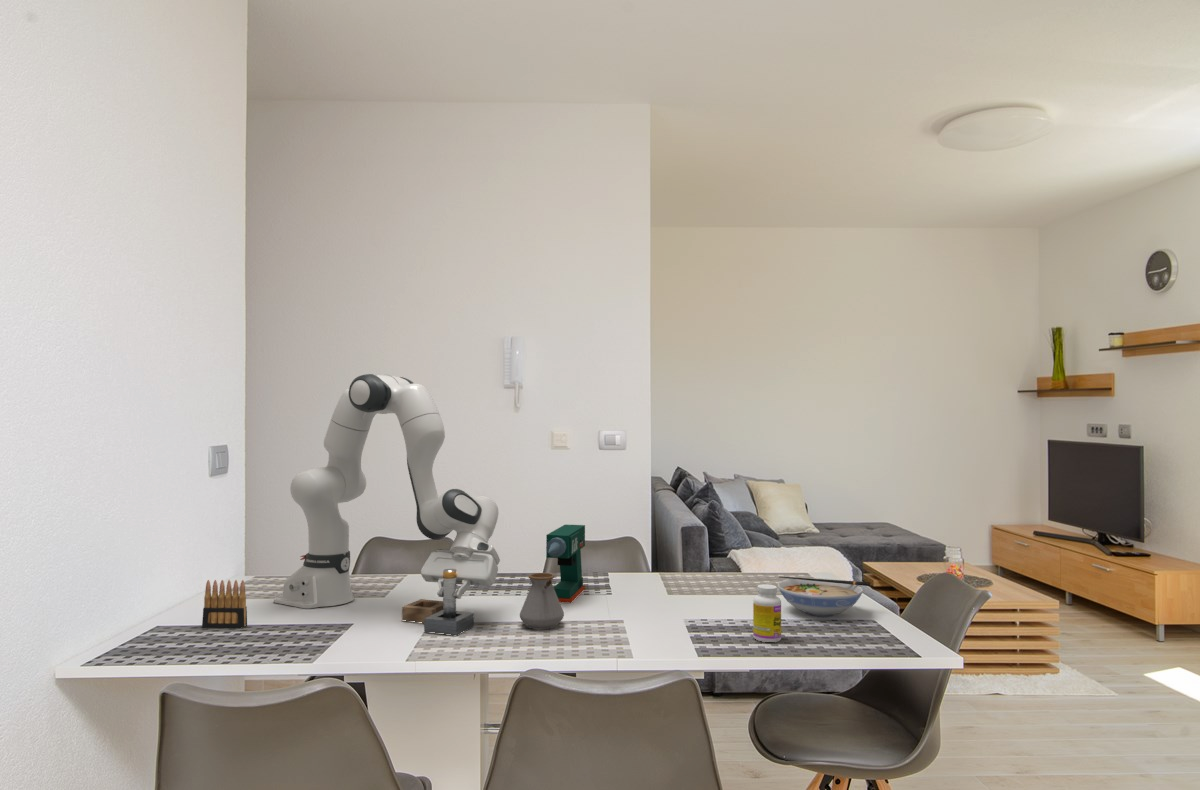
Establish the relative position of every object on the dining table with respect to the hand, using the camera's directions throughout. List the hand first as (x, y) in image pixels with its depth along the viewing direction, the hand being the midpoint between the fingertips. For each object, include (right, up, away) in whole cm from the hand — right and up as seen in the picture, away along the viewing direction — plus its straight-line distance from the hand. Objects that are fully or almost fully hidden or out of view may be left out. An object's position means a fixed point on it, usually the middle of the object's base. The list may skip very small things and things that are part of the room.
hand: (448, 596), depth 190 cm
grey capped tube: (0, -8, 0) cm, 8 cm away
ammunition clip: (-57, -8, +2) cm, 58 cm away
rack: (-8, -9, +11) cm, 16 cm away
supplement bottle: (+79, -9, -7) cm, 80 cm away
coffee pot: (+24, -9, 0) cm, 26 cm away
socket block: (0, -8, 0) cm, 8 cm away
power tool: (+28, -10, +31) cm, 43 cm away
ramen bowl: (+99, -10, +18) cm, 101 cm away
